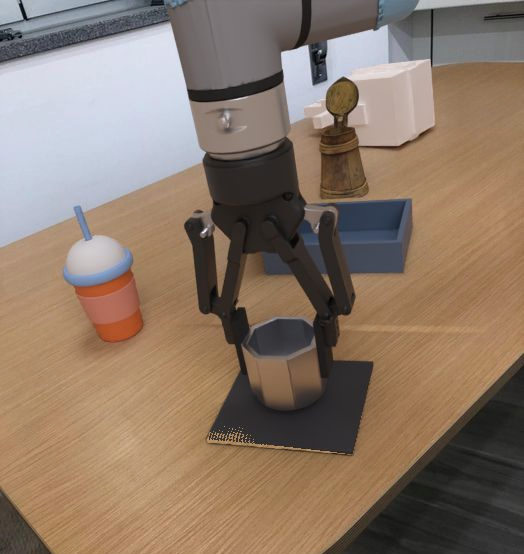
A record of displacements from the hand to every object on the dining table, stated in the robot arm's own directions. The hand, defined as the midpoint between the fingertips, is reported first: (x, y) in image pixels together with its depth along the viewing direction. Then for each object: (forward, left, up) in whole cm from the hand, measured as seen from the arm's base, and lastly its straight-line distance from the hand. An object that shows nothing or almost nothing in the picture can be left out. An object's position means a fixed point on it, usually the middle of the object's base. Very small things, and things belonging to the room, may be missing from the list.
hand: (287, 368), depth 61 cm
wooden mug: (+5, -61, -5) cm, 61 cm away
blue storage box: (+1, -34, -5) cm, 34 cm away
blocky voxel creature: (+6, -92, -5) cm, 92 cm away
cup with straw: (+28, -13, -5) cm, 31 cm away
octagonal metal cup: (0, 0, -3) cm, 3 cm away
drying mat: (0, 0, -5) cm, 5 cm away
